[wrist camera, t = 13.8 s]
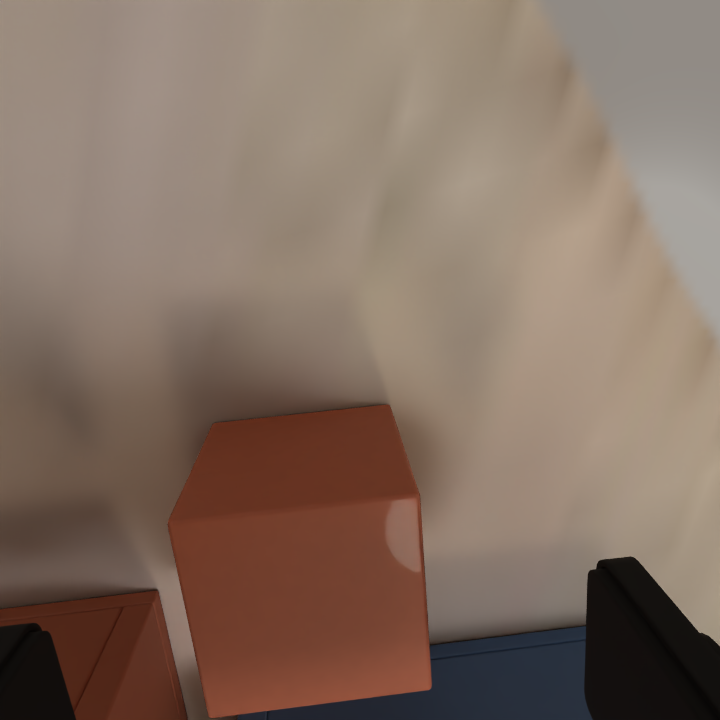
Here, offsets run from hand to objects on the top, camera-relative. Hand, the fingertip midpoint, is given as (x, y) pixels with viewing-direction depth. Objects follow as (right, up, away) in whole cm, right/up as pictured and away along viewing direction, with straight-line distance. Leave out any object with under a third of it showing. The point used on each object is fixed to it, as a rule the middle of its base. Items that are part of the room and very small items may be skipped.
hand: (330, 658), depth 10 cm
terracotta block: (-1, +2, +5) cm, 5 cm away
